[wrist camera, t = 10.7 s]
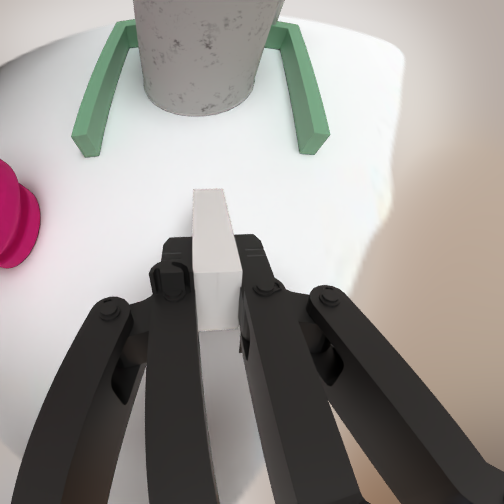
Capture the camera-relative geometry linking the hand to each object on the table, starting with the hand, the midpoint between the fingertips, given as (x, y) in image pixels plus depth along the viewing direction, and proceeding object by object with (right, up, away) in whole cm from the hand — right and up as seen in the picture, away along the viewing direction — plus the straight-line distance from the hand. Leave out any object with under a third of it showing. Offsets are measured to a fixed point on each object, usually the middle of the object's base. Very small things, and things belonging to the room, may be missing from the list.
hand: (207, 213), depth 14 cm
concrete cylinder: (-2, +13, +6) cm, 14 cm away
